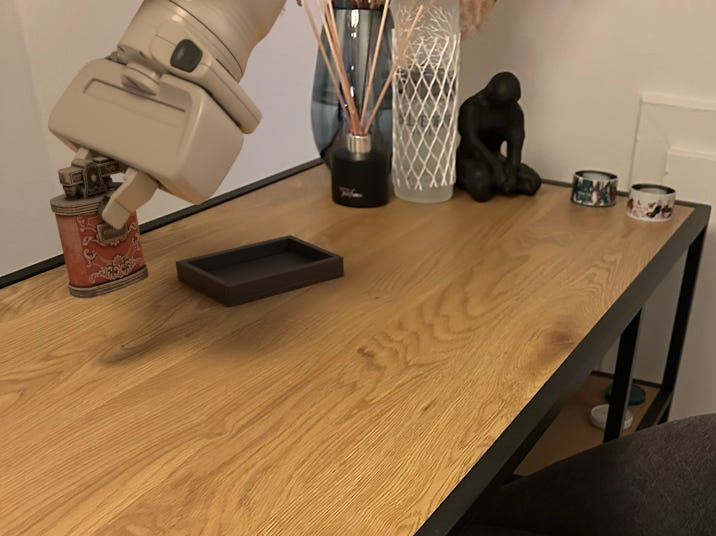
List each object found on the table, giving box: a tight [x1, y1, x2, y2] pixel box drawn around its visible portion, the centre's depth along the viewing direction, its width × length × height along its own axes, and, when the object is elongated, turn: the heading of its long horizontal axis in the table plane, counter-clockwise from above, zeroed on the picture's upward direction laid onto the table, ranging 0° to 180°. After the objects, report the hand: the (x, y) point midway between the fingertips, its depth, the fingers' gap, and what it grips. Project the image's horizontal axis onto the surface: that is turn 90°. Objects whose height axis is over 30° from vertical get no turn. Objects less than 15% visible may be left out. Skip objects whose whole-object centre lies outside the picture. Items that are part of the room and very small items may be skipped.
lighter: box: [49, 156, 150, 300], centre depth 79 cm, size 8×3×10 cm, turn 152°
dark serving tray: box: [175, 234, 345, 308], centre depth 104 cm, size 10×16×2 cm, turn 137°
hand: (90, 214), depth 78 cm, fingers closed on lighter, 4 cm apart
